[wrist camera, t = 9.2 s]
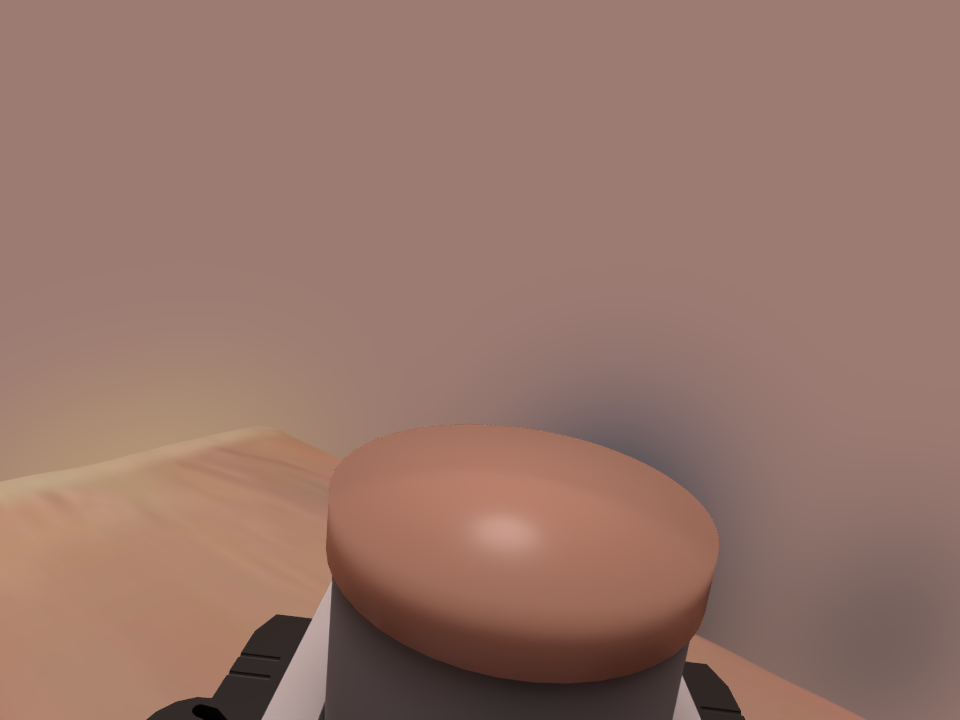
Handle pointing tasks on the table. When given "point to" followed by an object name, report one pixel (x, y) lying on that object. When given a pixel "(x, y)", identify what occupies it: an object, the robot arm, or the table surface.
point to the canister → (510, 579)
